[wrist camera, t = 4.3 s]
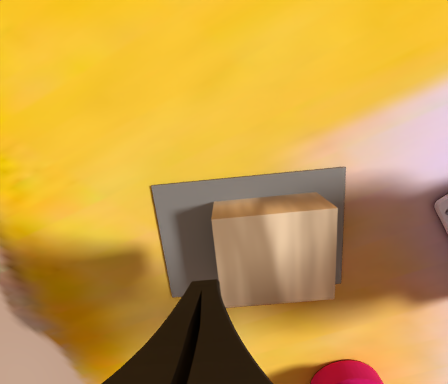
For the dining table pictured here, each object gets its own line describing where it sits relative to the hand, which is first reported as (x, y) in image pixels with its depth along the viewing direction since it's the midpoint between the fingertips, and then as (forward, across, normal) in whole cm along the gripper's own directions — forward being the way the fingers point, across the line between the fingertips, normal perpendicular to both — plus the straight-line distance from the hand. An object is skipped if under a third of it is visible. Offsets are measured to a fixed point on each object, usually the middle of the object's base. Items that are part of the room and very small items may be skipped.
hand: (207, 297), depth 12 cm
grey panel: (+6, -3, 0) cm, 7 cm away
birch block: (+4, 0, 0) cm, 4 cm away
